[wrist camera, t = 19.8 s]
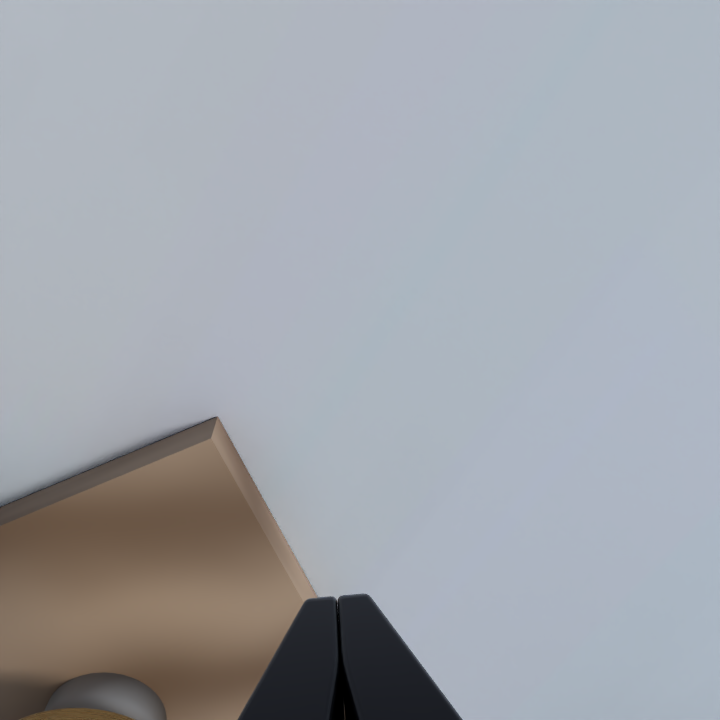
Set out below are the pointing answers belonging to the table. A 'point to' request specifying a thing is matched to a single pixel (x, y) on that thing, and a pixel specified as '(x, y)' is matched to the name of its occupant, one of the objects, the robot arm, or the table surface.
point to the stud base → (145, 586)
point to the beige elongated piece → (76, 715)
